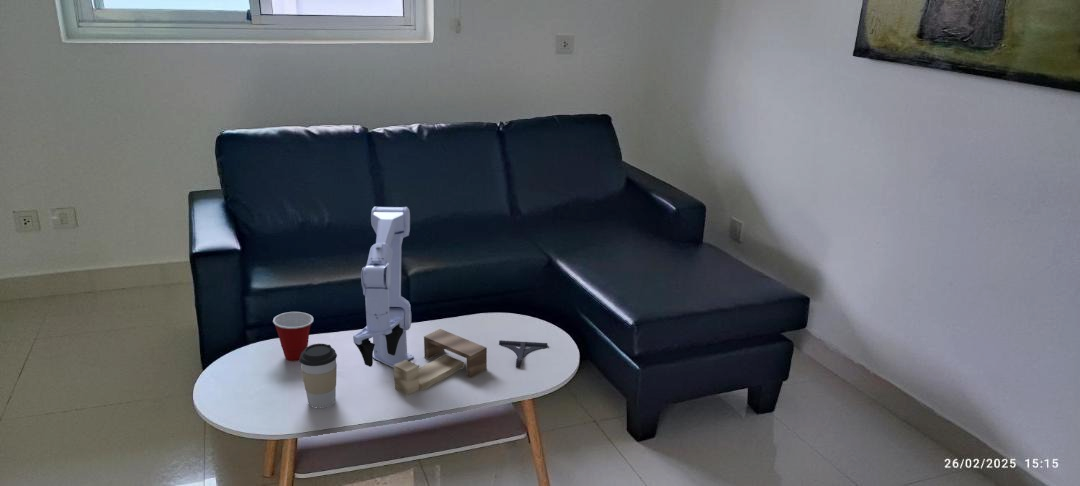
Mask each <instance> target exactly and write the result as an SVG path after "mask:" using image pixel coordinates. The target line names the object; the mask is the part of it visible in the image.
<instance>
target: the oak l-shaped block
mask: <svg viewBox="0 0 1080 486" xmlns="http://www.w3.org/2000/svg"><path fill="white" fill-rule="evenodd" d="M464 364H465V362H464V361H463V360H460V359H457V358H455V357H454V356H450V355H449V354H444V355H442V356H440V357H438V358H436V359H433V360H432V361H430V362H428V363H425V364H424V365H422V366H420V367H419V365H418V364H415V363H413V362H411V361H410V360H408V361H407V360H404V361H402V362H400V363H398V364H395V365H394V367H393V372H394V375H393V376H394V377H393V378H394V389H395V390H397V391H399V392H401V393H402V394H405V395H407V396H409V395H411V394H412V393H415V392H417V391H418V390H420V391H423V390H425V389H427V388H429V387H430V386H433V385H434V384H437V383H438V382H440V381H442V380H444V379H445V378H447V377H450V376H452V375H453V374H454V373H457V372H458V371H460V370H462V369H464V368H465V365H464Z"/></svg>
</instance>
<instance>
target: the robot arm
mask: <svg viewBox="0 0 1080 486" xmlns="http://www.w3.org/2000/svg"><path fill="white" fill-rule="evenodd" d="M370 212H371V213H370V222H371V227H372V228H373V231H374V232H375V234H376V237H375V238H376V239H375V243H373V245H371V246H370V249H369V253H368V257H367V261H366V265H365V266H363V267H362V268H361V272H360V279H361V281H360V282H361V288H362V294H363V296H364V297H365V298H364V300H365V315H366V316H365V318H366V326H365V327H364V328H362V329H361V330H360V331H359V332H357V333H356V334H354V335H353V338H352V340H353V343H354V344H355V346H356V347H357V348H358V351H359V352H360V355H361V357H362V359H363V362H364V365H365V366H367V367H370V368H371V367H373V362H374V359H375V360H377V361H378V362H380V363H383V364H385V365H387V366H389V367H391V368H394V365H395V364H398V363H400V362H402V361H404V360H407V361H410V360H412V359H414V357H415V356H414V355H413V354H411V353H408V345H407V344H408V343H407V342H408V341H407V338H408V337H407V331H409V330H410V329H411V326H412V311H411V304H410V301H409V300H407V299H406V298H405V297H403V296H402V246H403V245H402V244H403V241H404V240H403V239H404V238H406V237H409V236H410V232H411V231H410V230H411V212H410V208H409V207H408V206H401V207H399V206H395V207H394V206H373V208H372V209H371V211H370ZM371 338H372V342H371V340H370V339H371Z"/></svg>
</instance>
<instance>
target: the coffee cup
mask: <svg viewBox="0 0 1080 486" xmlns="http://www.w3.org/2000/svg"><path fill="white" fill-rule="evenodd" d="M337 358H338V354H337V352H336V350H335V348H333V347H332V346H331V344H327V343H313V344H311V345H308V346H307V347H306V348H305V350H304V351H303V352H302V353H301V355H300V358H299V362H300V366H301V367H300V370H301V375H302V376H301V377H302V379H303V386H304V390H305V393H306V398H307V403H309V404H308V405H309V406H310V407H311V406H313V407H312V408H314V407H317V408H316V409H323V408H322V407H325V408H327V406H328V407H330V406H333V405H334V403H335V402H336V395H337V394H336V393H337V392H336V391H337V369H338V367H337V366H338V364H337V363H338V362H337ZM320 407H321V408H320Z"/></svg>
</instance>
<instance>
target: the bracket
mask: <svg viewBox="0 0 1080 486" xmlns="http://www.w3.org/2000/svg"><path fill="white" fill-rule="evenodd" d="M498 345H499V346H501V347H503V348H504V347H505V348H507V349H509V350H511V351H512V352H514V353H515V355H516V356H517V358H516V360H515V368H516V369H517V368H519V369H520V368H521V367H522V362H523V358H525V356H526V355H527V354H529V353H531V352H534V351H537V350H544V349H547V348H548V345H549V344H548V342H536V341H533V342H532V341H517V340H516V341H515V340H499V341H498ZM526 347H527V348H526Z"/></svg>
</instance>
